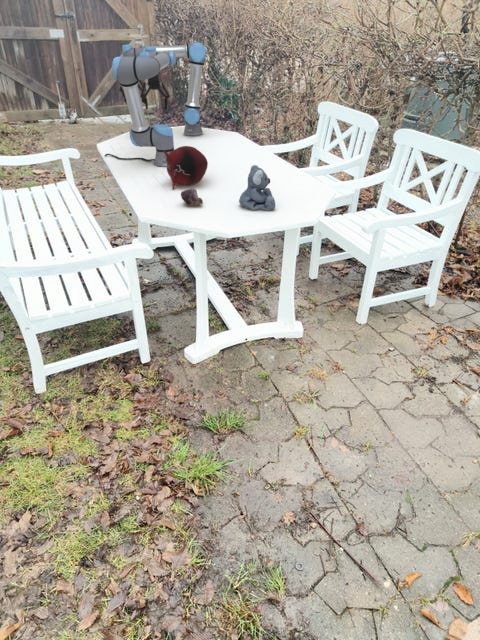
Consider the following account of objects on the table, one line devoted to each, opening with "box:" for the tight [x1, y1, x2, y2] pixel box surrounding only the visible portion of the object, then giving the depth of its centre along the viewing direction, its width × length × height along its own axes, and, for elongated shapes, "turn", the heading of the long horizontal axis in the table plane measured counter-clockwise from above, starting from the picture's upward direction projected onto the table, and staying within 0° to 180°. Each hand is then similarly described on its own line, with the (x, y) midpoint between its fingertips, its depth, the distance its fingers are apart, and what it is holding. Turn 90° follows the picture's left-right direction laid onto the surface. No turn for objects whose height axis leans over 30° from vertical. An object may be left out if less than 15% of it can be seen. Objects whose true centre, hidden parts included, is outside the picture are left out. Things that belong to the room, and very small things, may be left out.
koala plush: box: [238, 164, 276, 211], centre depth 224 cm, size 17×18×20 cm
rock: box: [180, 188, 204, 207], centre depth 229 cm, size 12×9×10 cm
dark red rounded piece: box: [163, 145, 209, 190], centre depth 255 cm, size 21×24×25 cm
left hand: (156, 109), depth 309 cm, fingers open, 13 cm apart
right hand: (134, 101), depth 337 cm, fingers open, 13 cm apart
